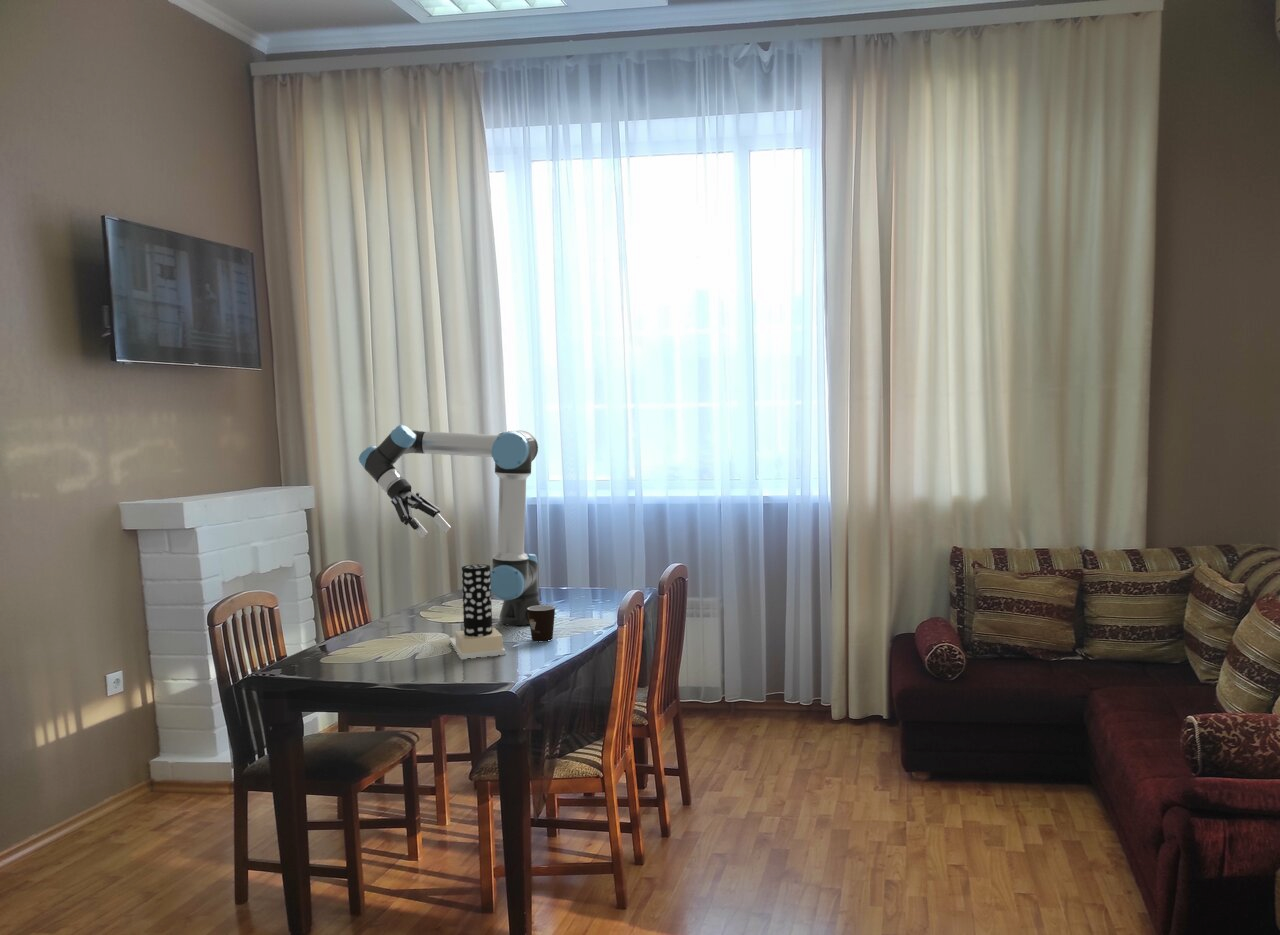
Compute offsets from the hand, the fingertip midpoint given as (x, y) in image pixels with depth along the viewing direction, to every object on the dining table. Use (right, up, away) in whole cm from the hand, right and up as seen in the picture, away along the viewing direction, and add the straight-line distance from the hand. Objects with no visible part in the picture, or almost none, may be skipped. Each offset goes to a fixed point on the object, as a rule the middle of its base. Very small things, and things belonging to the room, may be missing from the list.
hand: (436, 532), depth 325 cm
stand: (+16, -34, -21) cm, 43 cm away
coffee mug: (+34, -33, -9) cm, 48 cm away
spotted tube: (+17, -28, -25) cm, 41 cm away
